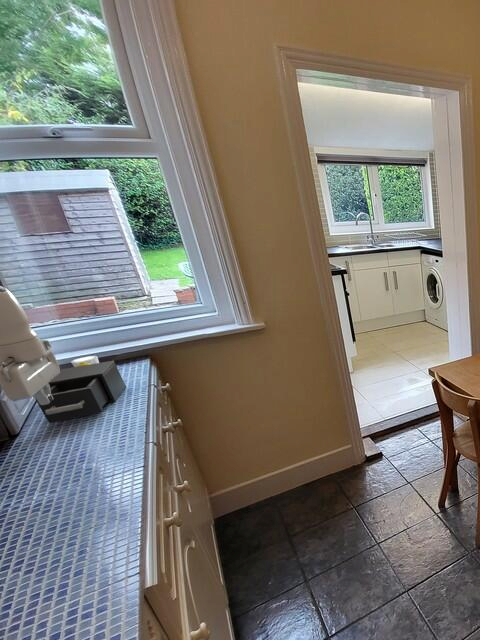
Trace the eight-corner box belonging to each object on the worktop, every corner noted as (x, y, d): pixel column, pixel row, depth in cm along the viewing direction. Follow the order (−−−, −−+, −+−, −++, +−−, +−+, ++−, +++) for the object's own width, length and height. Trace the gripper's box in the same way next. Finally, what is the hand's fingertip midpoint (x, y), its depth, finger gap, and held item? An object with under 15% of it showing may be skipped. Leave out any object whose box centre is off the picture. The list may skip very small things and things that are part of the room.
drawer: (98, 418, 116) (85, 393, 113) (42, 429, 111) (27, 404, 108) (113, 396, 129) (102, 374, 126) (65, 406, 124) (52, 383, 121)
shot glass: (84, 375, 151) (75, 357, 148) (108, 371, 153) (99, 354, 150) (76, 382, 145) (67, 363, 142) (101, 377, 148) (92, 359, 145)
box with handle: (115, 401, 128) (101, 373, 124) (61, 412, 123) (44, 383, 119) (126, 386, 139) (113, 360, 135) (76, 396, 133) (62, 368, 129)
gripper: (17, 361, 93) (48, 415, 99) (51, 339, 109) (77, 386, 115) (-24, 367, 90) (11, 422, 96) (18, 344, 106) (46, 392, 112)
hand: (47, 402), depth 105 cm, fingers closed
